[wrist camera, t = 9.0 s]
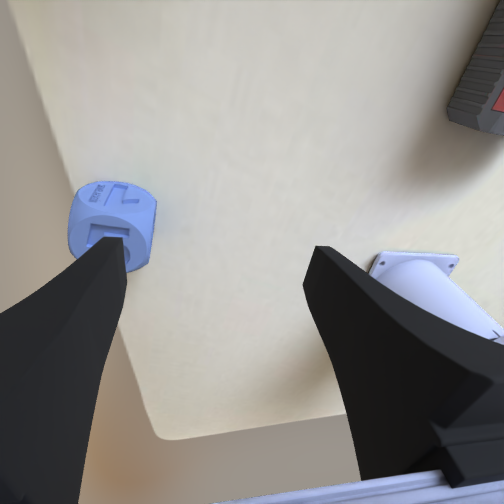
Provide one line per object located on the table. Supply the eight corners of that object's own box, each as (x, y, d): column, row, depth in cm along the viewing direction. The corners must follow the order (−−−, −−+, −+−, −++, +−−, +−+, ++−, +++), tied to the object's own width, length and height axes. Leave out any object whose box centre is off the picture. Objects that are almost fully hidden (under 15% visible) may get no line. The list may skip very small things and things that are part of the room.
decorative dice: (158, 188, 19) (152, 220, 16) (152, 241, 21) (145, 278, 18) (87, 175, 18) (64, 206, 14) (88, 232, 20) (69, 271, 16)
